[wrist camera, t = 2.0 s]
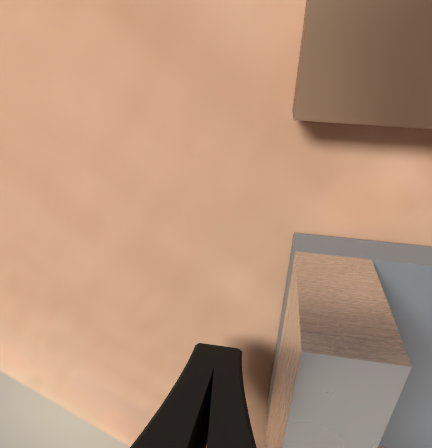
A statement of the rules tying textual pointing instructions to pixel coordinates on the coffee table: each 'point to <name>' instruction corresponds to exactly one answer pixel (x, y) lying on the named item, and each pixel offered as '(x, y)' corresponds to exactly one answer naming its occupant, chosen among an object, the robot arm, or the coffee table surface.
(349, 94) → the broken strip
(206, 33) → the coffee table surface
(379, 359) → the grey tray
